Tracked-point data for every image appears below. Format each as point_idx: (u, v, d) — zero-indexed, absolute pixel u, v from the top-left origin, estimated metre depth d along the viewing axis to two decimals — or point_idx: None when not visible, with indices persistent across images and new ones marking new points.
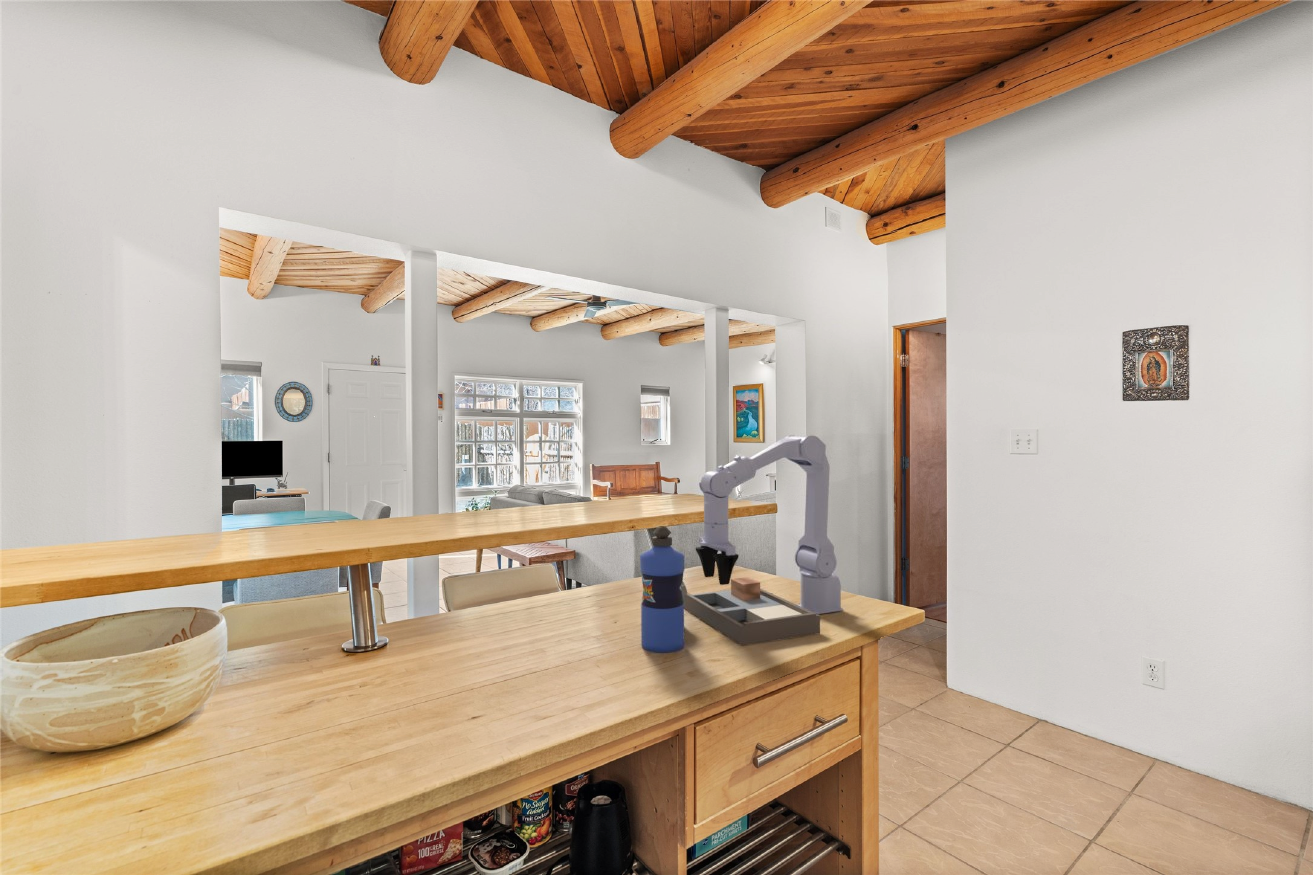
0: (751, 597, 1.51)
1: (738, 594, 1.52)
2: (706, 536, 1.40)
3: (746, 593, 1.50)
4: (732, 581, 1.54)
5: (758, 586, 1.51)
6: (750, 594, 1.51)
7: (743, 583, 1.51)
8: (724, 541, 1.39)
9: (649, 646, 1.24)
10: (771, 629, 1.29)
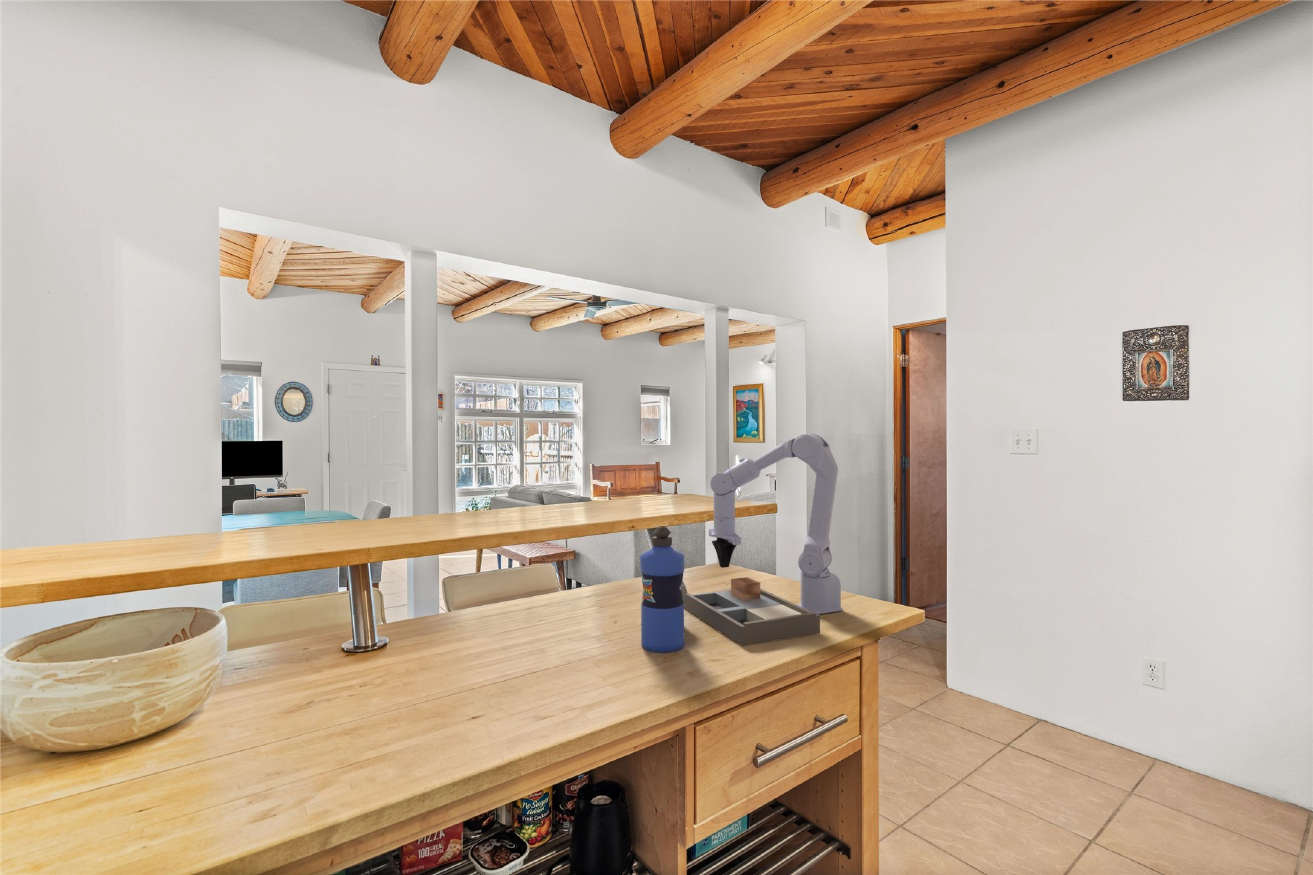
0: (751, 597, 1.51)
1: (738, 594, 1.52)
2: (715, 528, 1.62)
3: (746, 593, 1.50)
4: (732, 581, 1.54)
5: (758, 586, 1.51)
6: (750, 594, 1.51)
7: (743, 583, 1.51)
8: (731, 533, 1.61)
9: (649, 646, 1.24)
10: (771, 629, 1.29)
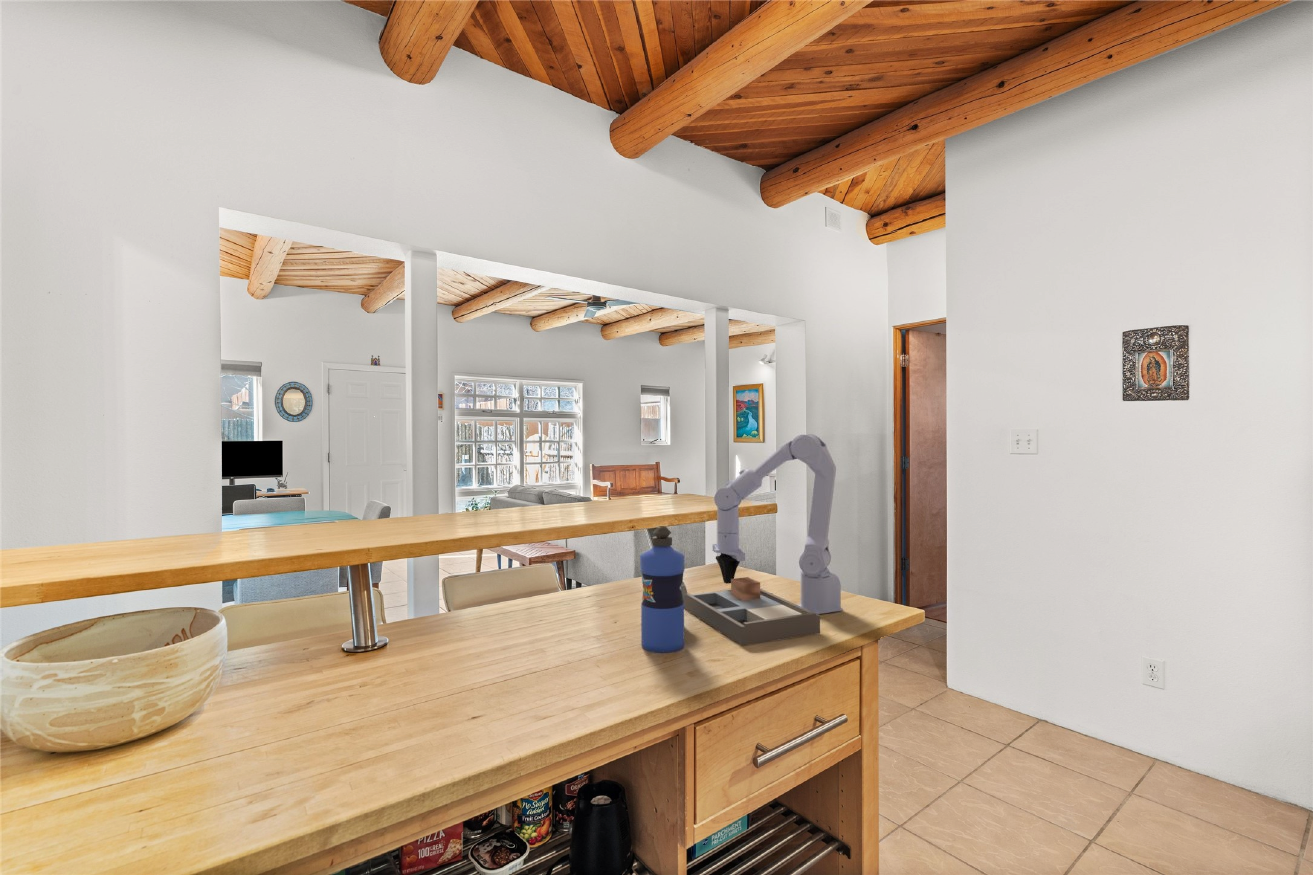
0: (751, 597, 1.51)
1: (738, 594, 1.52)
2: (719, 544, 1.60)
3: (746, 593, 1.50)
4: (732, 581, 1.54)
5: (758, 586, 1.51)
6: (750, 594, 1.51)
7: (743, 583, 1.51)
8: (735, 548, 1.59)
9: (649, 646, 1.24)
10: (771, 629, 1.29)
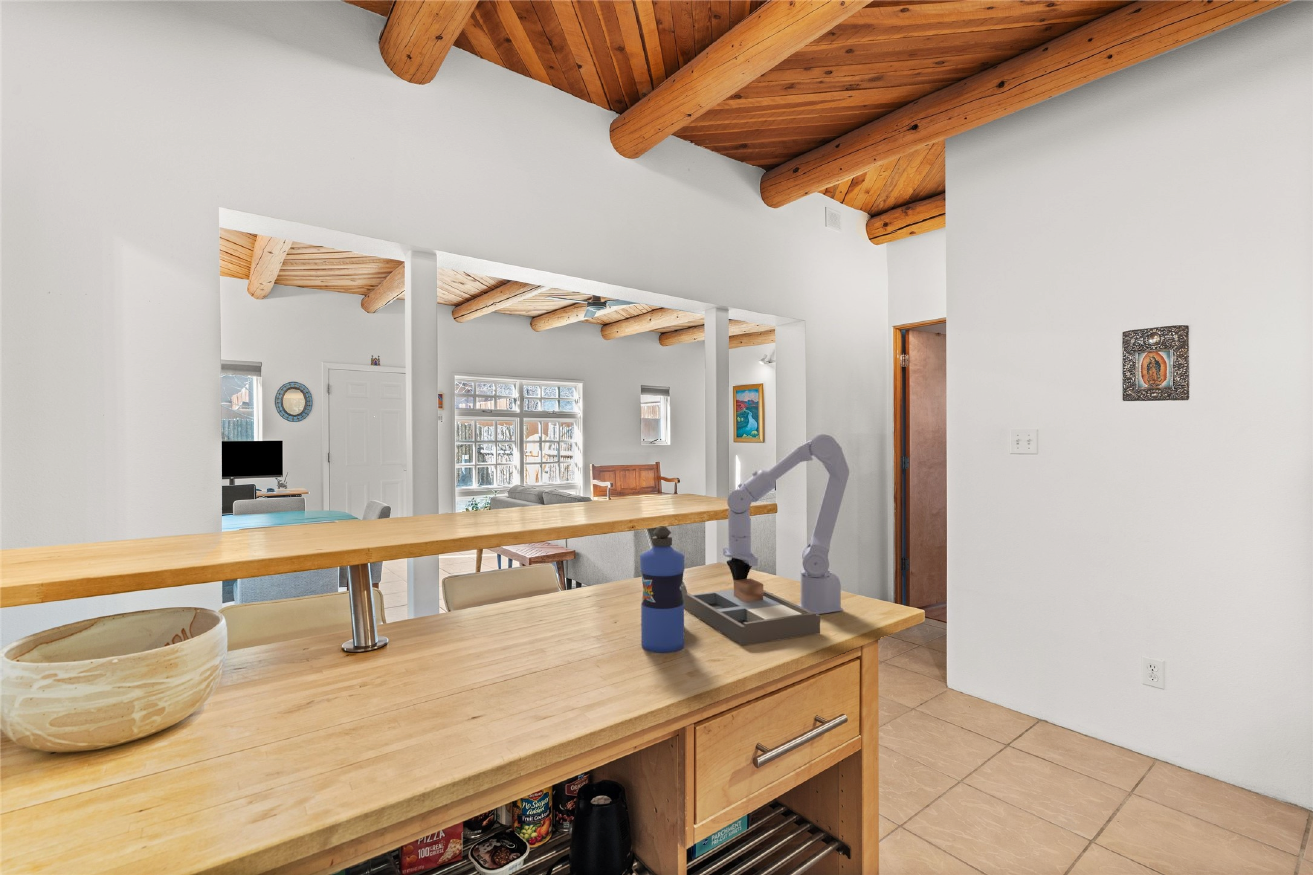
0: (754, 598, 1.49)
1: (740, 595, 1.51)
2: (730, 548, 1.55)
3: (749, 594, 1.49)
4: (735, 582, 1.53)
5: (761, 587, 1.50)
6: (753, 596, 1.49)
7: (746, 584, 1.49)
8: (747, 553, 1.54)
9: (649, 646, 1.24)
10: (771, 629, 1.29)
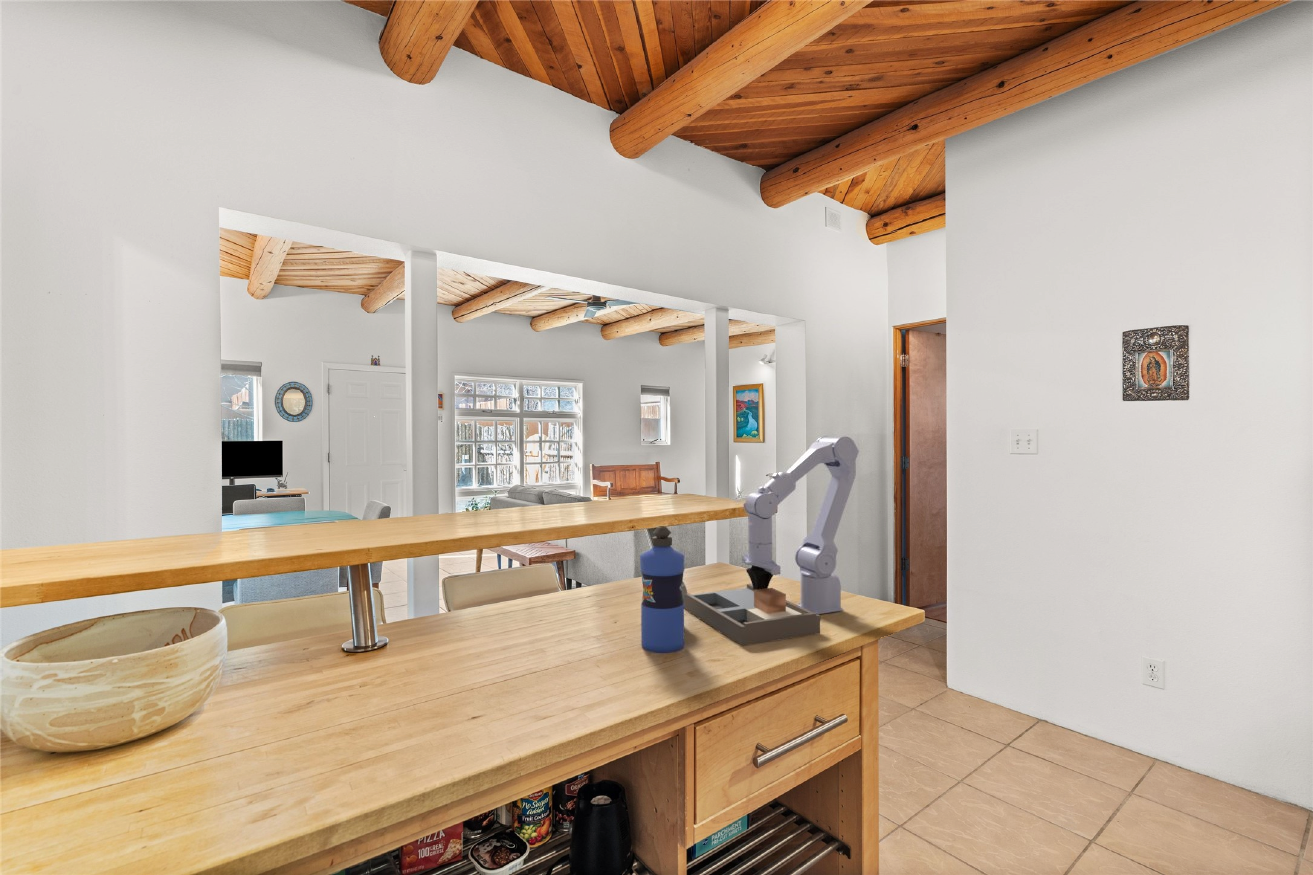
0: (776, 610, 1.40)
1: (761, 606, 1.41)
2: (751, 555, 1.45)
3: (771, 605, 1.39)
4: (755, 592, 1.44)
5: (783, 598, 1.41)
6: (775, 607, 1.40)
7: (767, 595, 1.40)
8: (768, 560, 1.44)
9: (649, 646, 1.24)
10: (771, 629, 1.29)
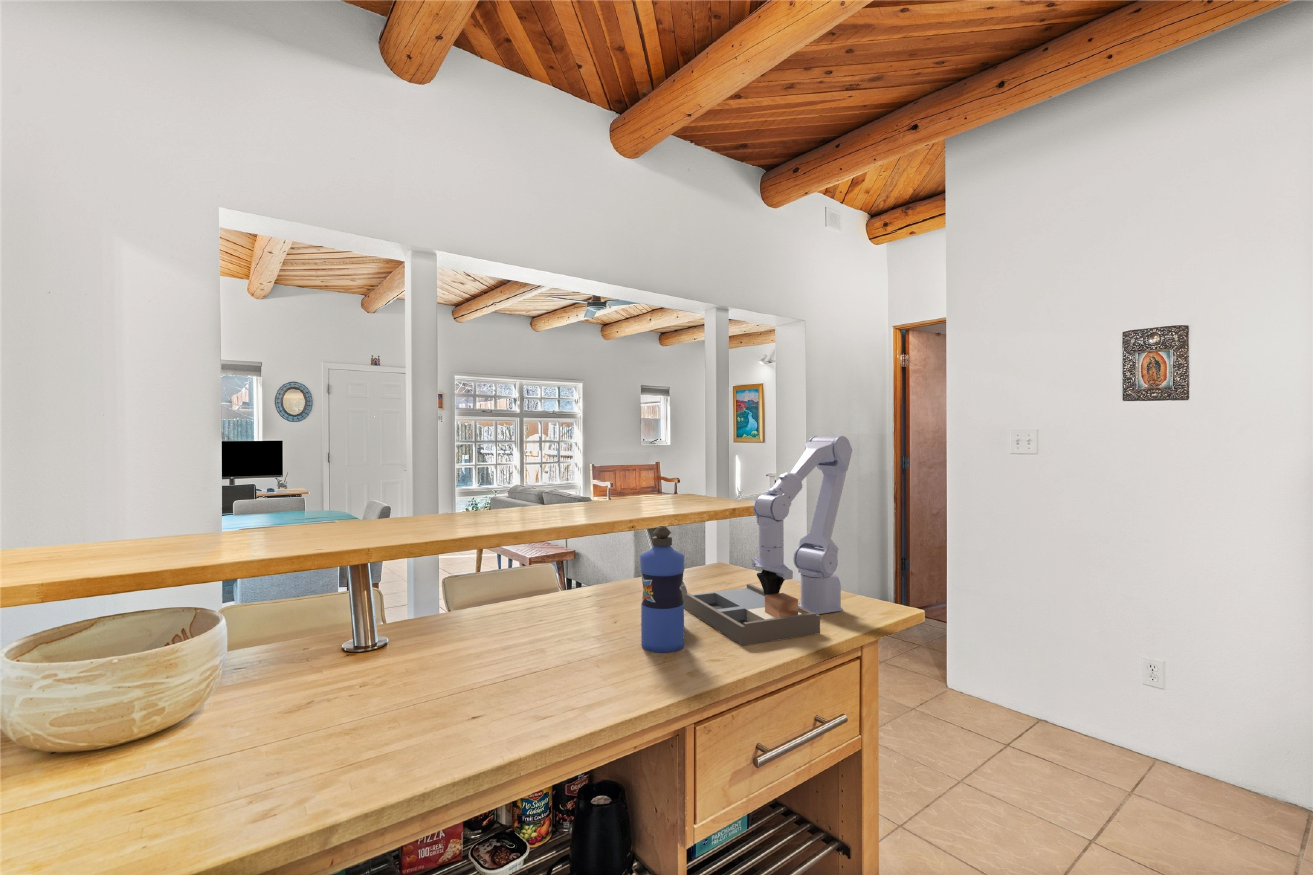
0: None
1: (773, 612, 1.37)
2: (761, 559, 1.41)
3: (783, 611, 1.35)
4: (766, 597, 1.39)
5: (796, 603, 1.36)
6: (788, 612, 1.35)
7: (779, 600, 1.35)
8: (780, 565, 1.40)
9: (649, 646, 1.24)
10: (771, 629, 1.29)
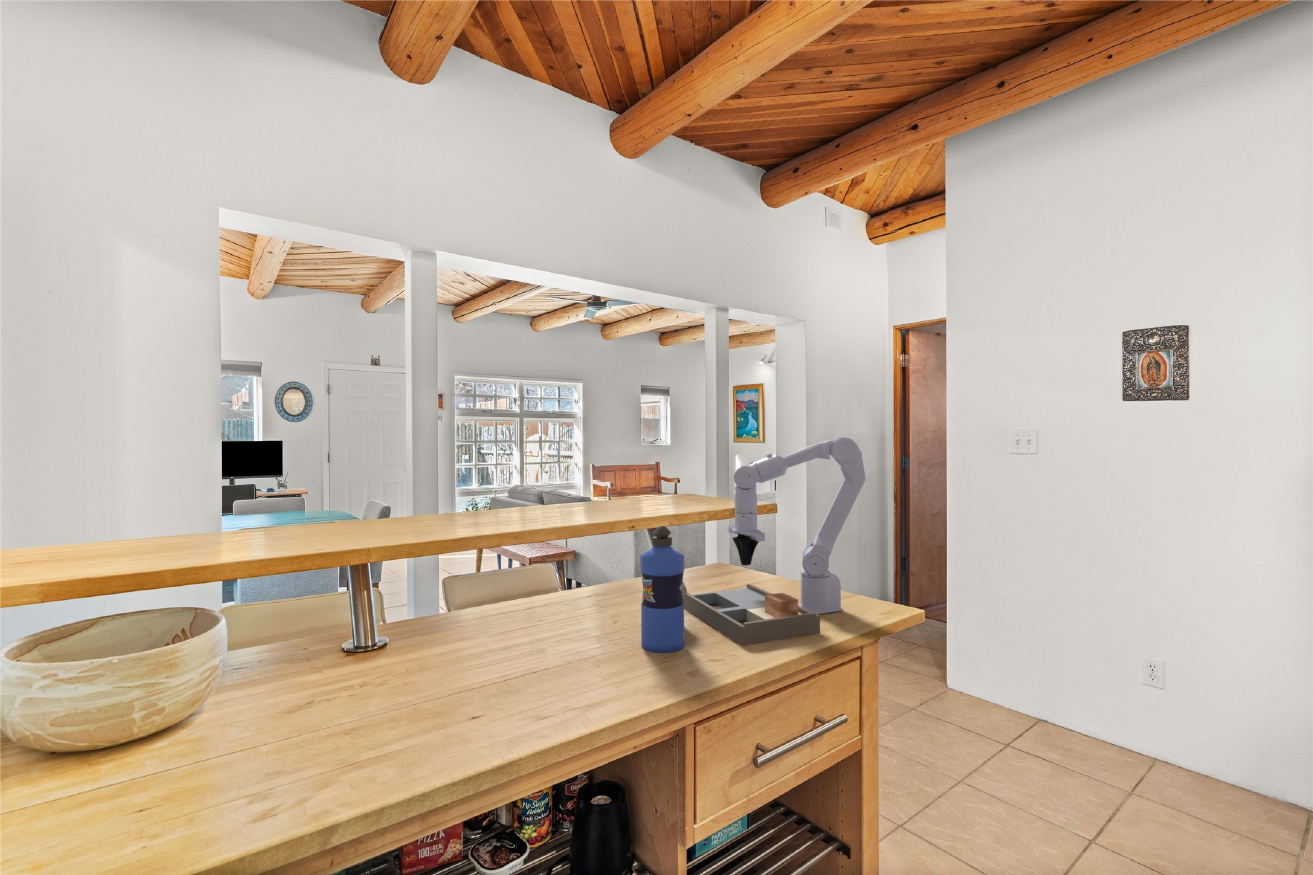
0: None
1: (773, 612, 1.37)
2: (737, 524, 1.54)
3: (783, 611, 1.35)
4: (766, 597, 1.39)
5: (796, 603, 1.36)
6: (788, 612, 1.35)
7: (779, 600, 1.35)
8: (753, 529, 1.54)
9: (649, 646, 1.24)
10: (771, 629, 1.29)
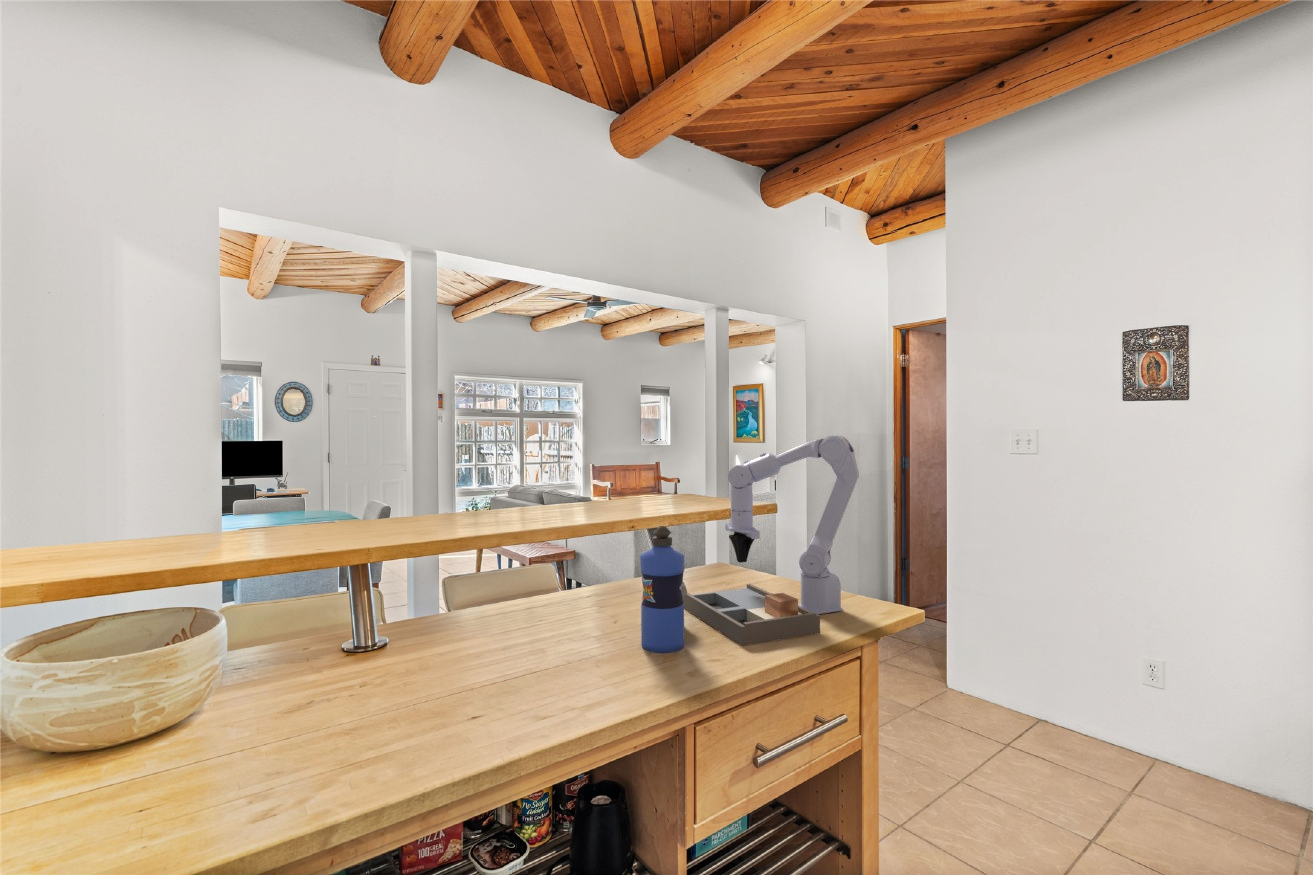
0: None
1: (773, 612, 1.37)
2: (733, 522, 1.58)
3: (783, 611, 1.35)
4: (766, 597, 1.39)
5: (796, 603, 1.36)
6: (788, 612, 1.35)
7: (779, 600, 1.35)
8: (749, 527, 1.57)
9: (649, 646, 1.24)
10: (771, 629, 1.29)
